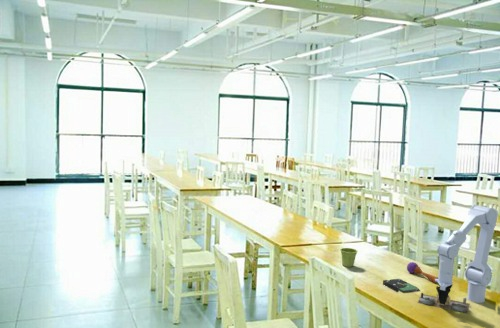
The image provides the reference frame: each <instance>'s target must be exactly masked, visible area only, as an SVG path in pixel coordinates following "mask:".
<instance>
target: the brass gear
mask: <svg viewBox="0 0 500 328" xmlns="http://www.w3.org/2000/svg"><path fill="white" fill-rule="evenodd" d="M435 297H436V302H437V303H440V302H439V295H438V293H437V294H436V296H435ZM450 300H452V299H451V296H450V295H449V294H448V296H447V299H446V303H445V305H448V304H450ZM442 305H443V304H442Z"/></svg>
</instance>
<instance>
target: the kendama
mask: <svg viewBox="0 0 500 328" xmlns="http://www.w3.org/2000/svg"><path fill="white" fill-rule="evenodd" d="M406 270H407V271H408V273H409V274H412V275H423V276H424V277H425V278H427V279H429V280H430V281H431V282H433V283H434V284H436V285H437V284H439V283H438V282H436V281H435V279H438V277H437V276H435V275H432V274H429V273H426V272H423V270H422V269H421V267H420V266H419V265H418V264H417V263H416V262H414V261H412V262H411V261H410V262H408V264H407V265H406Z"/></svg>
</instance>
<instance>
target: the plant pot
mask: <svg viewBox="0 0 500 328" xmlns="http://www.w3.org/2000/svg"><path fill="white" fill-rule="evenodd" d="M340 253H341V254H340V255H341V262H342V263H341V264H342V266H344V267H346V268H351V267H354V266H355V261H356V256H357V253H358V250H357V249H355V248H349V247H342V248H340Z"/></svg>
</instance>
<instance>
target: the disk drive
mask: <svg viewBox="0 0 500 328" xmlns="http://www.w3.org/2000/svg"><path fill="white" fill-rule="evenodd" d="M382 285H383V286H384V285H385V287H386V286H387V288H389V289H391V290H392V291H394V292H396V293H399V292H401V293H410V292H411V293H412V292H420V291H421V289H420V288H419V287H417V286H416V285H413V284H411V283H409V282H407V281H406V280H403V279H401V278H395V279H389V280H388V279H384V280H383V281H382Z"/></svg>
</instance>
